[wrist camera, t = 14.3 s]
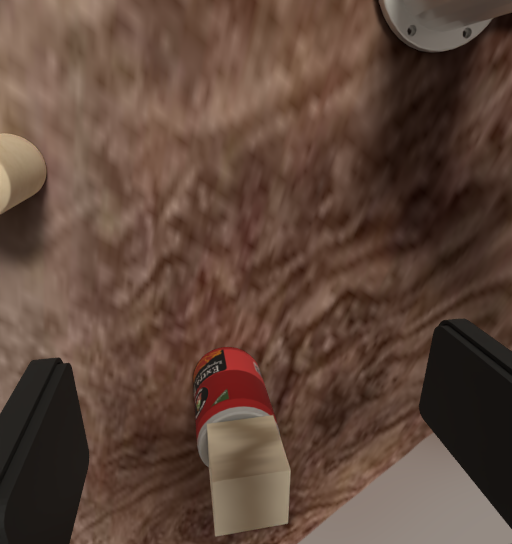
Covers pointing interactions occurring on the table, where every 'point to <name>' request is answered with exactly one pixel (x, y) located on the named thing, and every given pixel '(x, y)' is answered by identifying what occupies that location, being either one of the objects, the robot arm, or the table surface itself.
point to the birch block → (247, 475)
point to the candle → (19, 170)
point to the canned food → (227, 392)
